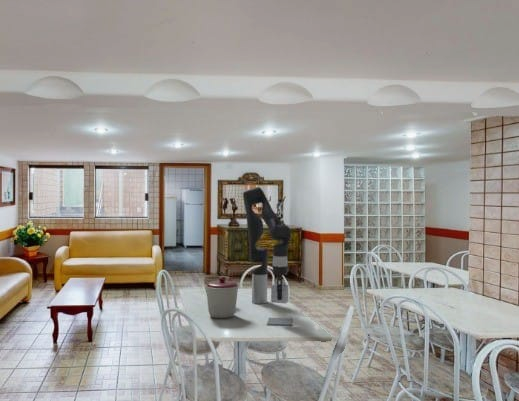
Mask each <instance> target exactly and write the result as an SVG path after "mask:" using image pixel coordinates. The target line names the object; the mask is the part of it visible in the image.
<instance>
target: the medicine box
mask: <svg viewBox="0 0 519 401" xmlns="http://www.w3.org/2000/svg"><path fill="white" fill-rule="evenodd" d="M270 288H271V289H270V290H271V293H270V301H271V302H270V303H275V304H287V303H289V284H283V288H282V300H277V287H276V283H274V284H271V286H270ZM278 289H281V288H278Z"/></svg>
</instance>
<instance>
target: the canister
mask: <svg viewBox="0 0 519 401" xmlns="http://www.w3.org/2000/svg"><path fill="white" fill-rule="evenodd" d="M220 276H221V277H219V281H212V282H209V283H208V284H206V285H205V284H204V288H205V287H206V290H207V294H206V299H207V307H208V313H209V315H210V317H212V318H214V319H229V318H231V317H233V316H234V315H235V313H236V308H237V307H236V306H237V298H238V290H239V288H240V284H239V283H237V282H236V281H233V280H229V281H225V280H226V278H225V277H224V276H223V275H220ZM206 290H205V291H206Z"/></svg>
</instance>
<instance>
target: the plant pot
mask: <svg viewBox="0 0 519 401" xmlns="http://www.w3.org/2000/svg"><path fill="white" fill-rule="evenodd" d="M221 276H222V275H207V276H204V277H203V283H204V289H205V294H206V295H207V290H206V287H205V285H206V284H208V283H209V282H212V281H219V277H221ZM224 277H225V278H226V280H225V281H230V277H229V276H224Z"/></svg>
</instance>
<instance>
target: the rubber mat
mask: <svg viewBox="0 0 519 401" xmlns="http://www.w3.org/2000/svg"><path fill="white" fill-rule="evenodd" d="M266 325H267V326H281V327H283V326H284V327H285V326H287V327H293V318H292V317H291V318H290V317H268V319H267V324H266Z"/></svg>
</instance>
